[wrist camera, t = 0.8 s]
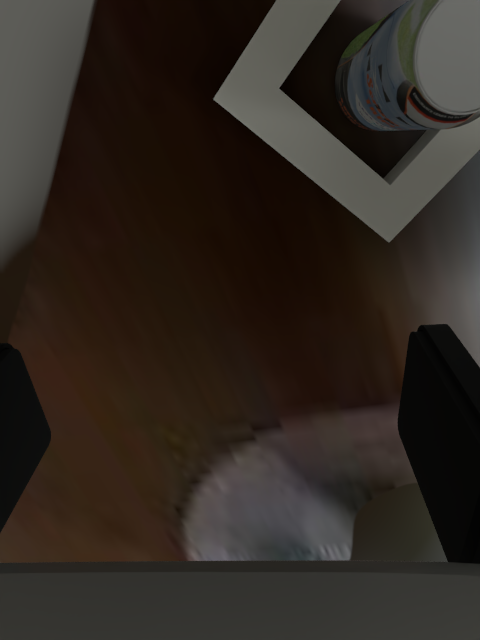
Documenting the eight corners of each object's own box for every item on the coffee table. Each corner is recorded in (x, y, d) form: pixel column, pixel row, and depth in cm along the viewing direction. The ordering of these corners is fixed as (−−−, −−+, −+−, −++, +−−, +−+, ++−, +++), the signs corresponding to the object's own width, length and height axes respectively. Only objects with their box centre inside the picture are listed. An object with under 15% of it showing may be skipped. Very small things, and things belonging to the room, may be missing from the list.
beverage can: (314, 103, 30) (346, 122, 20) (376, -19, 27) (454, -74, 16) (391, 145, 31) (460, 184, 21) (460, 33, 28) (582, 14, 17)
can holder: (567, 39, 28) (588, 38, 26) (382, 234, 34) (389, 242, 33) (388, -173, 23) (399, -192, 22) (215, 97, 30) (213, 99, 28)
